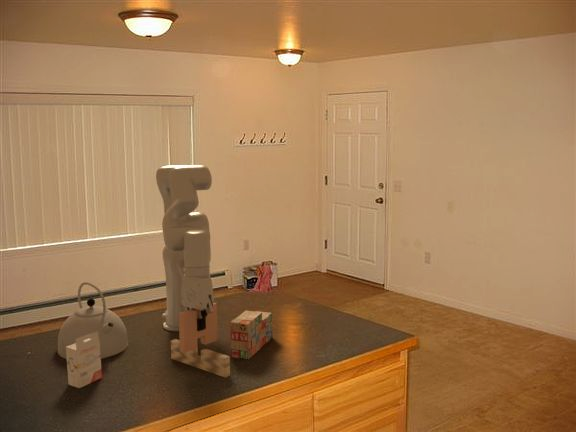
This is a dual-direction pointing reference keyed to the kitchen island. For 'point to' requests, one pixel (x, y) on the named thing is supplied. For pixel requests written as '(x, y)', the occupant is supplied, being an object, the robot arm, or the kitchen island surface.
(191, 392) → the kitchen island surface
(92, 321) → the kettle
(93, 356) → the ink cartridge box
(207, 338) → the terracotta slotted plate
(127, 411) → the kitchen island surface
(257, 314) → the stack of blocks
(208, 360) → the oak notched board
